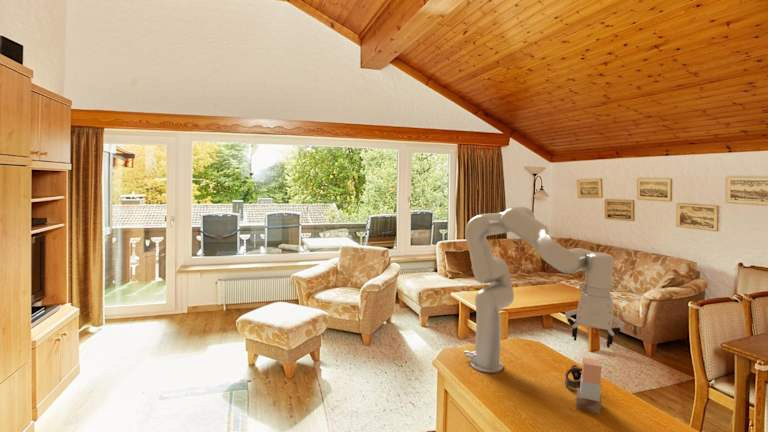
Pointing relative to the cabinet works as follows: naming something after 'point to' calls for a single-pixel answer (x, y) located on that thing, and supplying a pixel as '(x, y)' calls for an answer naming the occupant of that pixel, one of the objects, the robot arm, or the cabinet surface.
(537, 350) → the cabinet surface
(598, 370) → the terracotta block
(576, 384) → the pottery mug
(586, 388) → the greyblue cube
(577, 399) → the tan cardboard-coloured box
